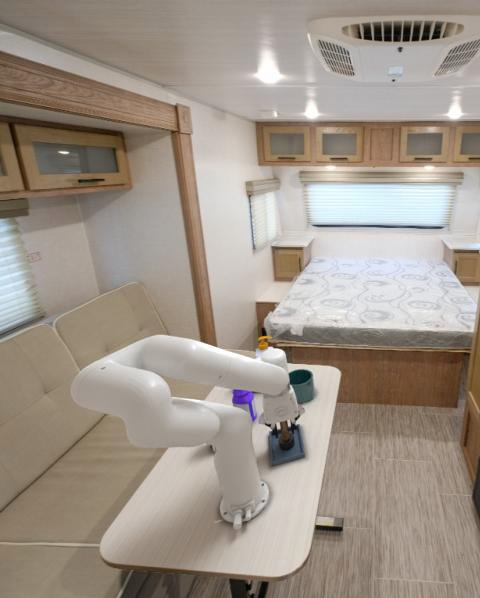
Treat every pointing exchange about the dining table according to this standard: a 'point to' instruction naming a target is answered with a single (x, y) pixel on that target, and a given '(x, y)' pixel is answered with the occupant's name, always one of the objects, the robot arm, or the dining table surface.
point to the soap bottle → (262, 346)
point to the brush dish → (288, 455)
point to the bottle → (245, 402)
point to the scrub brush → (285, 437)
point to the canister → (302, 385)
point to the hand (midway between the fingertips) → (284, 432)
